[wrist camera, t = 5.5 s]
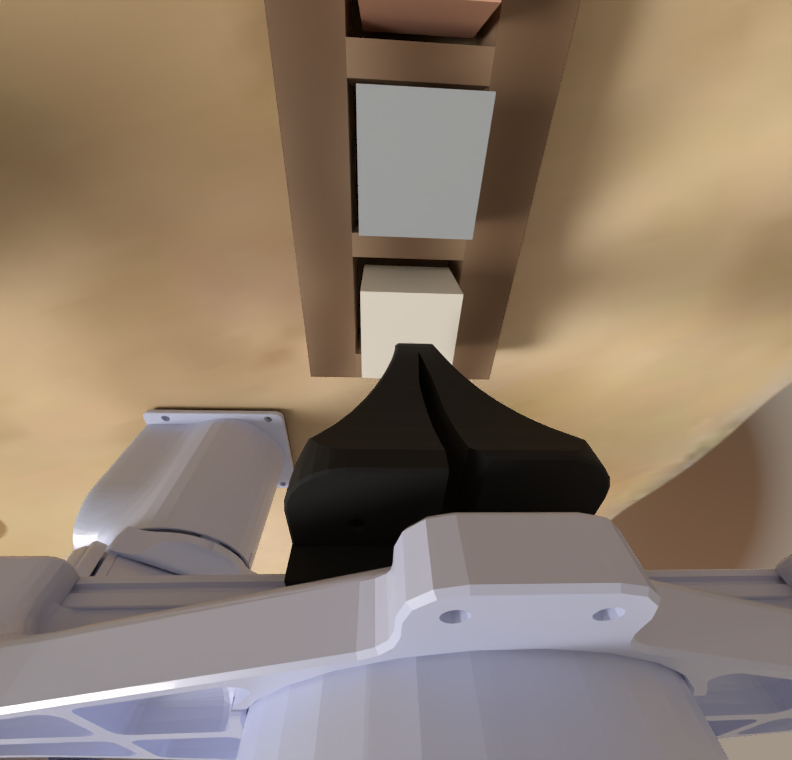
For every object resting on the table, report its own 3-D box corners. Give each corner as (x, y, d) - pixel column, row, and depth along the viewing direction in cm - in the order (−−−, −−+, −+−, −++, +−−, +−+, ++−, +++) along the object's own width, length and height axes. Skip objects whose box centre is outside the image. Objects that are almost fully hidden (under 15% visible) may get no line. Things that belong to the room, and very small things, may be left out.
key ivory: (365, 340, 18) (361, 377, 15) (364, 264, 16) (360, 291, 13) (439, 341, 18) (449, 379, 15) (448, 267, 16) (463, 294, 13)
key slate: (363, 218, 15) (358, 235, 12) (362, 99, 12) (356, 83, 9) (454, 221, 15) (472, 239, 12) (469, 105, 13) (496, 91, 10)
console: (319, 348, 21) (310, 376, 18) (260, -249, 10) (215, -396, 7) (476, 351, 22) (488, 379, 19) (590, -215, 10) (661, -340, 8)
